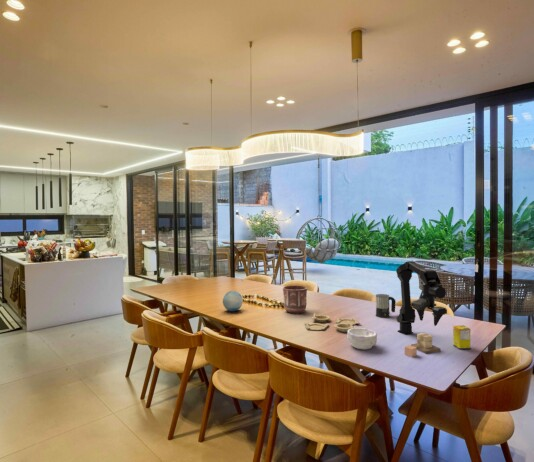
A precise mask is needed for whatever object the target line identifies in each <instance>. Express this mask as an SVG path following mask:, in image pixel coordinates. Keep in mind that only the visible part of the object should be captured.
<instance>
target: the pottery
mask: <svg viewBox="0 0 534 462" xmlns="http://www.w3.org/2000/svg"><path fill="white" fill-rule="evenodd" d="M282 292H283V293H282V294H283V307H284V309H285V310H286V313H289V314H293V315H295V314H302V313H304V312H305V311H306V309H307V297H308V296H307V292H308V288H307V286H304V285H295V284H294V285H285V286H283V287H282Z"/></svg>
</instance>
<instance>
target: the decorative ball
mask: <svg viewBox="0 0 534 462" xmlns="http://www.w3.org/2000/svg"><path fill="white" fill-rule="evenodd" d="M243 302H244V300H243V296H242V294H241V293H239V292H238V291H236V290H235V291H234V290H231V291H227V292H226V293H225V294H224V296H223V298H222V305H223V307H224V308H225V310H227V311H229V312H237V311H238V310H240V309H241V307H242V306H243Z"/></svg>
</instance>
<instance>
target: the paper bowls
mask: <svg viewBox="0 0 534 462" xmlns="http://www.w3.org/2000/svg"><path fill="white" fill-rule="evenodd" d="M377 334H378V333H377V332H376V331H375V330H372V329H369V328H364V327H363V328H362V327H353V328H352V329H349V330H348V331H347V332H346V335H347V336H346V337H347V338H346V339H347V342H349V343H350V344H351V346H352V347H353V348H356V349H358V350H370V349H371V348H372V347H373V346H375V345H377V343H378V342H377V341H378V338H377V336H378V335H377Z"/></svg>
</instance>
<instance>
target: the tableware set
mask: <svg viewBox="0 0 534 462" xmlns="http://www.w3.org/2000/svg"><path fill="white" fill-rule="evenodd" d="M311 319H312V320H315V321H316V322H315V323H314V322H313V323H311V322H304V323H303V324H304V325H305V327H304V328H305V329H307V330H310V331H322V330H326V329H327V327H329V326H330V323H327V321H328V320H330V319H331V316H329V315H325V314H317V313H316V312H314V313H313V316H311ZM322 323H325V324H322ZM357 324H358V325H359V324H361V322H360V321H358V320H357V319H356V317H352V318H341V317H338V318H337V319H336V321H335V324H334V325H333V326H334V328H335V329H337V330H338V331H339V332H341V333H347V331H348V330H349V329H352V328H355V327H354V326H355V325H357Z"/></svg>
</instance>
